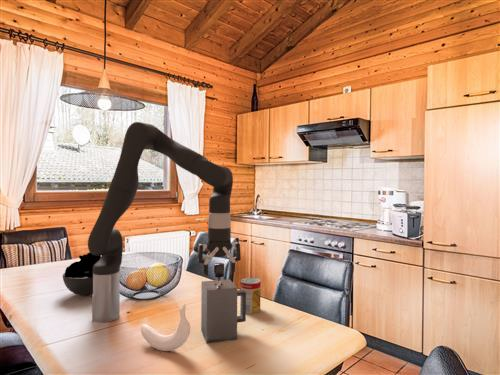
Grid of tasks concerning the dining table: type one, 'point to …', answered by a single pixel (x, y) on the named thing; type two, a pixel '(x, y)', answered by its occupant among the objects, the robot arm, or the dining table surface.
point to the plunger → (219, 272)
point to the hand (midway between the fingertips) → (219, 274)
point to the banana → (170, 340)
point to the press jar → (221, 310)
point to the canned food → (251, 294)
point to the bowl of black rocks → (81, 275)
